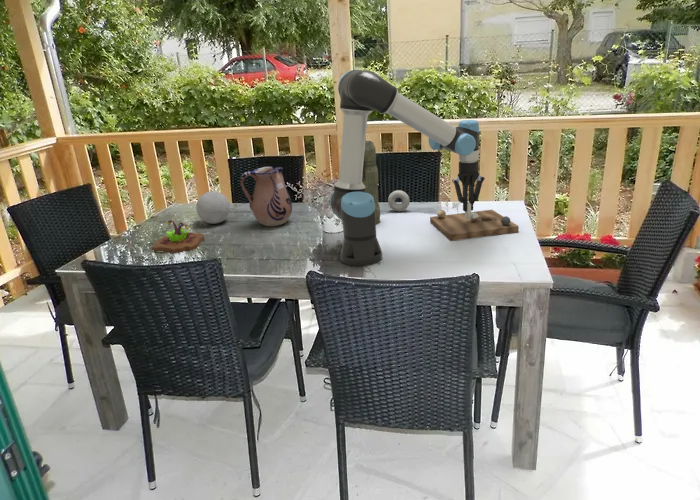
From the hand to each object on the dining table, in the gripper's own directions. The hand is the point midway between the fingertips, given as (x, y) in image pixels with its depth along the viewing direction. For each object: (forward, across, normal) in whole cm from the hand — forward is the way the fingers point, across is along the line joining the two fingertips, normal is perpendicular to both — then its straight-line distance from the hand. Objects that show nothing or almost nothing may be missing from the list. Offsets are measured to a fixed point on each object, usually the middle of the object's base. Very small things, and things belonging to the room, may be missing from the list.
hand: (467, 218), depth 211 cm
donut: (+4, +20, -33) cm, 39 cm away
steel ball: (0, -3, 0) cm, 3 cm away
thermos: (+4, +36, -22) cm, 42 cm away
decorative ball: (+4, +104, -48) cm, 115 cm away
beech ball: (0, +8, -9) cm, 12 cm away
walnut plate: (+4, -2, 0) cm, 4 cm away
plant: (+4, +118, -23) cm, 120 cm away
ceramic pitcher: (+4, +79, -36) cm, 87 cm away
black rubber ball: (0, -12, +9) cm, 15 cm away
